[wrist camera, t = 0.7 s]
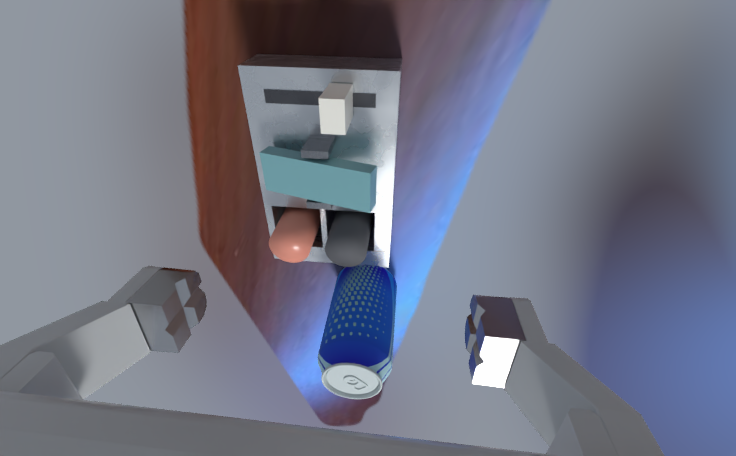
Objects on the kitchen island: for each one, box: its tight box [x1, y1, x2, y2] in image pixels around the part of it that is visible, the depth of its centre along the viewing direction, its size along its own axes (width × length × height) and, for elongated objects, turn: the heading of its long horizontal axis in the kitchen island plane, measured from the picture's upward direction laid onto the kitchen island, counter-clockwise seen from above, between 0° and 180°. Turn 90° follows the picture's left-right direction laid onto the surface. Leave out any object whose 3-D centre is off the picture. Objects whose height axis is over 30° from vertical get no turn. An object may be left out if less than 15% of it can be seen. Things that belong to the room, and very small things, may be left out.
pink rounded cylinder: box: [269, 207, 321, 263], centre depth 40 cm, size 4×4×6 cm
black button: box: [325, 210, 372, 267], centre depth 40 cm, size 4×4×6 cm
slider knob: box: [318, 83, 353, 135], centre depth 30 cm, size 3×2×4 cm
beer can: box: [318, 265, 397, 399], centre depth 45 cm, size 8×8×16 cm
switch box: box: [238, 54, 402, 268], centre depth 38 cm, size 22×14×8 cm, turn 179°
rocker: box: [259, 146, 377, 213], centre depth 33 cm, size 4×11×2 cm, turn 89°
